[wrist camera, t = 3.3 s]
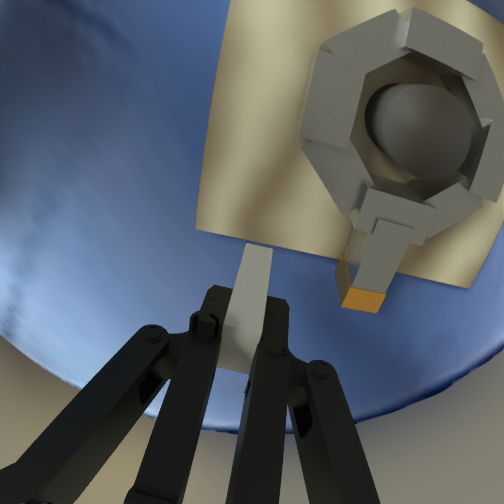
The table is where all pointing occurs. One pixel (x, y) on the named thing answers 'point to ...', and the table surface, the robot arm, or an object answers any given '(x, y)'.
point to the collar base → (362, 135)
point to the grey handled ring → (383, 189)
